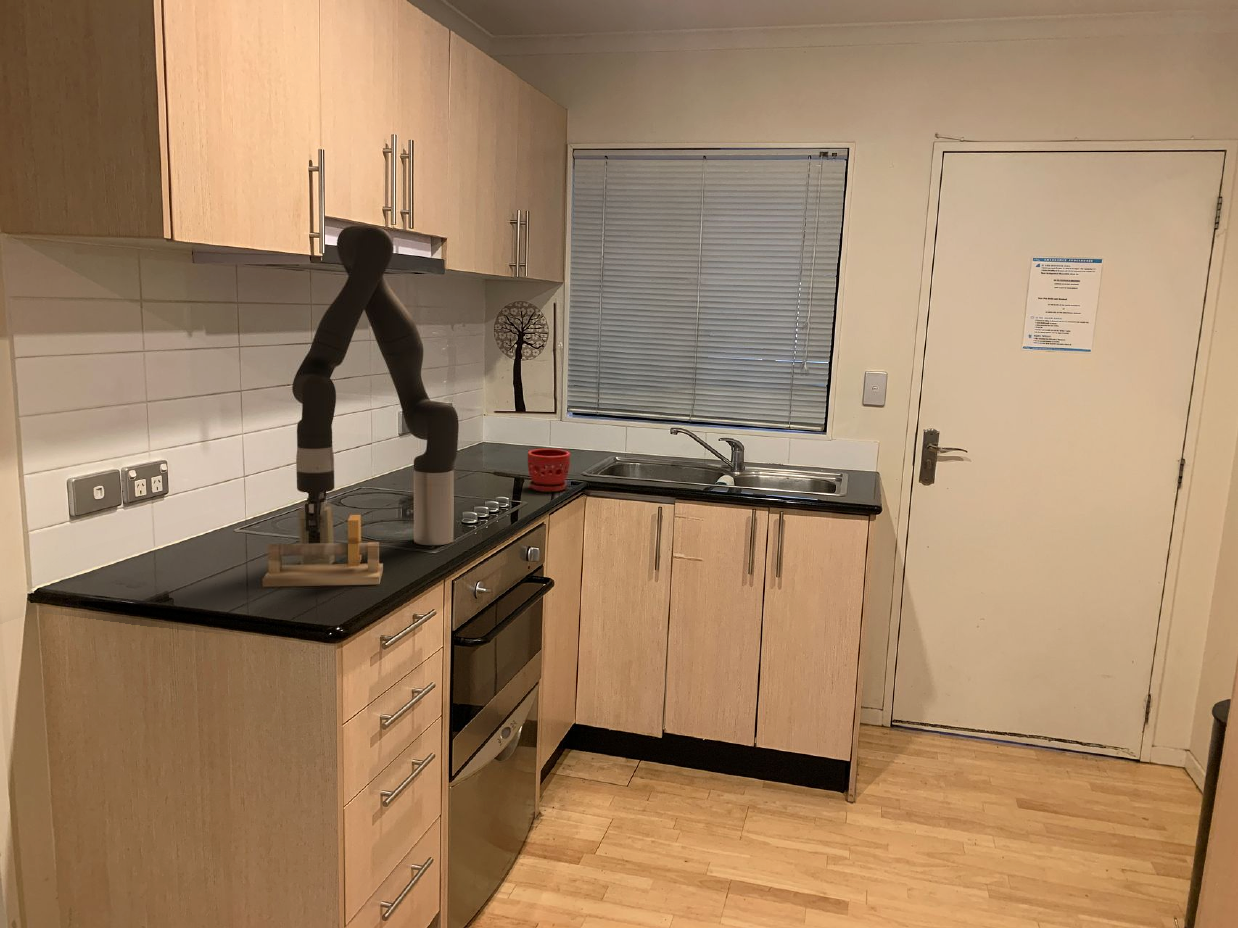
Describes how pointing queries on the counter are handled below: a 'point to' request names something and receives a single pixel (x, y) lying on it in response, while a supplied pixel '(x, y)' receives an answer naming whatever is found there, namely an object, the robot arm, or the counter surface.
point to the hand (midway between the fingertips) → (317, 544)
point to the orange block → (354, 540)
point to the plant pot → (548, 469)
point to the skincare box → (325, 536)
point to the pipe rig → (322, 566)
